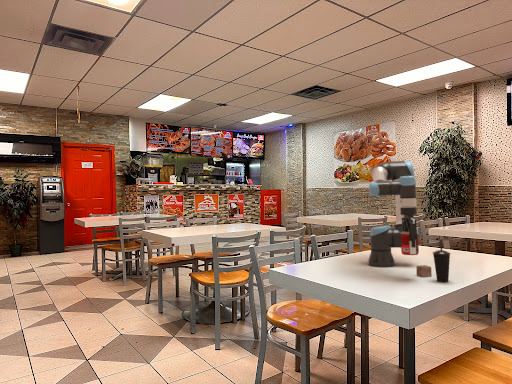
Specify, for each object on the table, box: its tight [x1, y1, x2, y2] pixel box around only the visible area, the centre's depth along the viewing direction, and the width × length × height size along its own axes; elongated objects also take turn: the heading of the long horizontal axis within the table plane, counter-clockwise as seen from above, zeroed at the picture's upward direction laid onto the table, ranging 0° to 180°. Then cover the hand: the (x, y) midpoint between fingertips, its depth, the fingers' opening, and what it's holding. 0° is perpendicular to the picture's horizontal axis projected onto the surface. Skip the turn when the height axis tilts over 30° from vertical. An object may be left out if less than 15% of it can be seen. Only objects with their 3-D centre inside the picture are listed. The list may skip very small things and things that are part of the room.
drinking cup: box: [432, 239, 451, 283], centre depth 171 cm, size 8×8×20 cm
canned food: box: [400, 231, 420, 256], centre depth 177 cm, size 8×8×11 cm
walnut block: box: [415, 264, 433, 278], centre depth 183 cm, size 5×5×5 cm
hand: (409, 252), depth 177 cm, fingers closed on canned food, 8 cm apart
